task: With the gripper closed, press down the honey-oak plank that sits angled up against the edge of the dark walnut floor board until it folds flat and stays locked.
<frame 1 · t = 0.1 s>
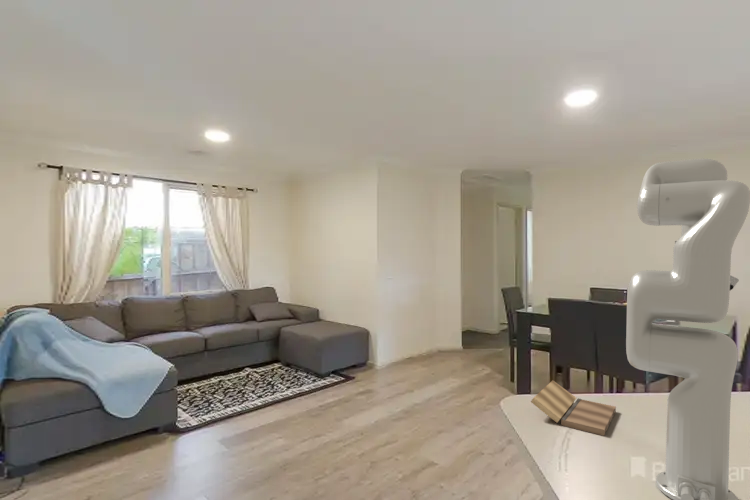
hand: (696, 307, 116), 31 cm above the counter, fingers open, 9 cm apart
oak plank: (554, 399, 121), point 3 cm above the counter, hinge at 30.0°
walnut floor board: (589, 418, 116), on the counter
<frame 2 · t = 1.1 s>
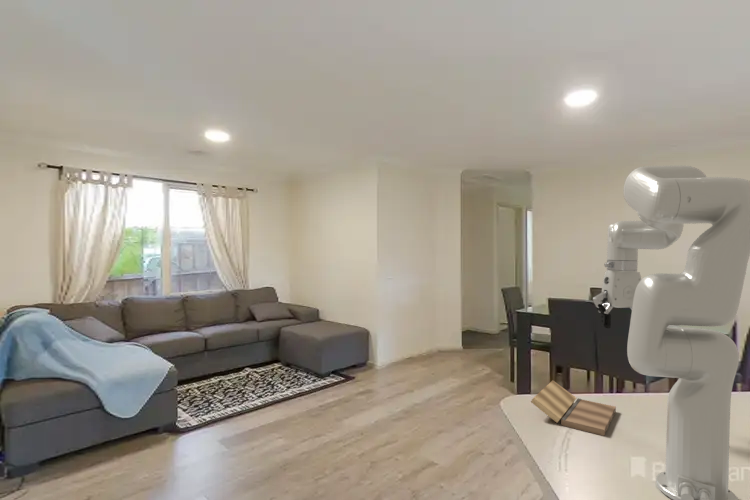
hand: (620, 327, 120), 25 cm above the counter, fingers open, 9 cm apart
nothing on the counter moved.
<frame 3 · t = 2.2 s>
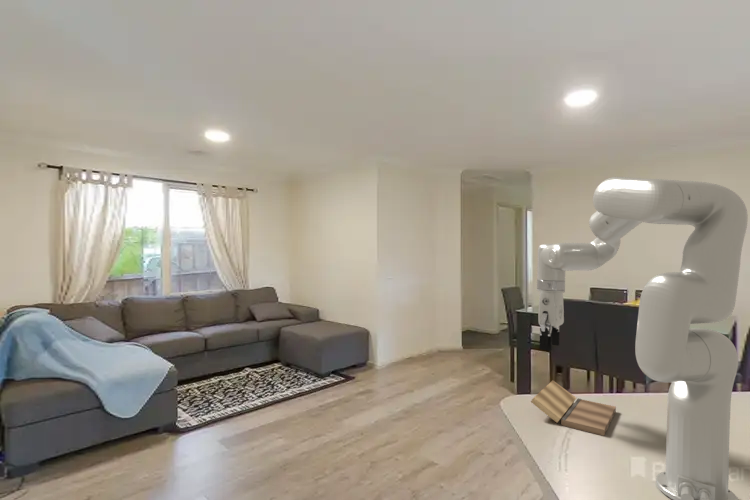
hand: (549, 346, 122), 18 cm above the counter, fingers open, 7 cm apart
nothing on the counter moved.
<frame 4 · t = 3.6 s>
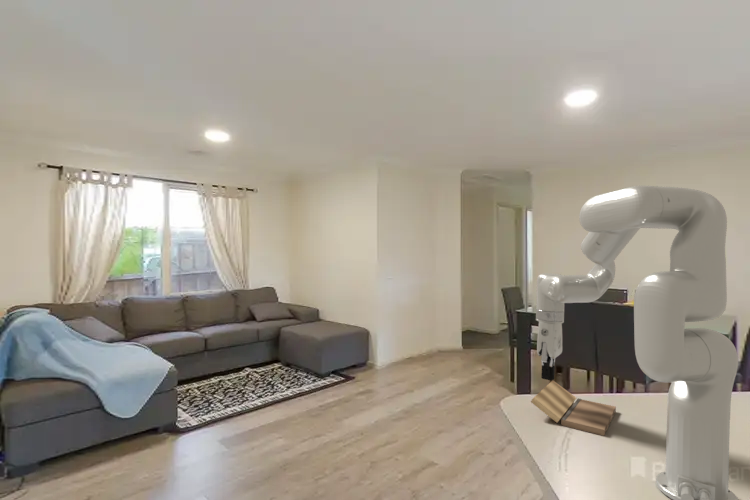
hand: (547, 378, 123), 8 cm above the counter, fingers closed
nothing on the counter moved.
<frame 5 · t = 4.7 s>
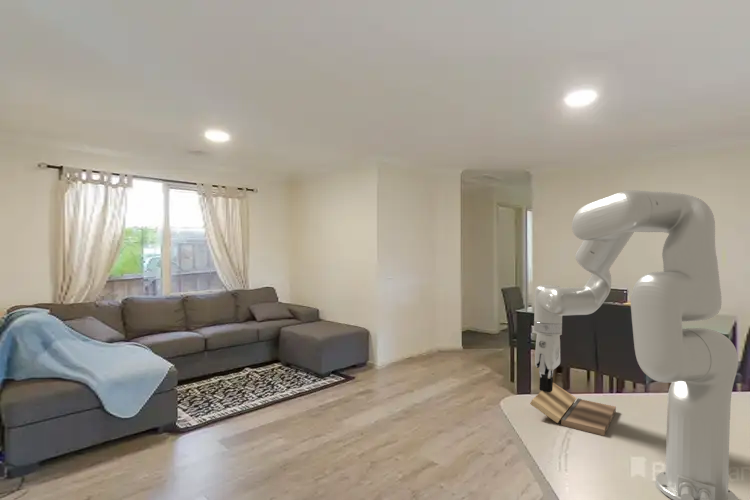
hand: (545, 390, 123), 5 cm above the counter, fingers closed
oak plank: (554, 400, 121), point 3 cm above the counter, hinge at 25.6°, touching gripper
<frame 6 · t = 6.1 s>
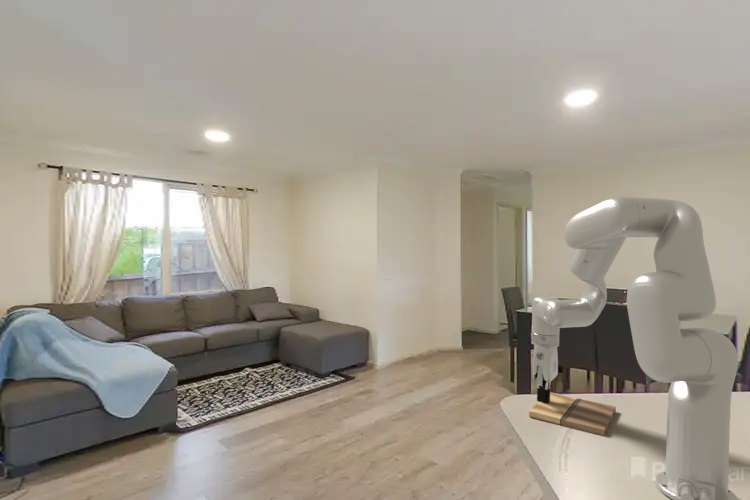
hand: (543, 401, 124), 2 cm above the counter, fingers closed
oak plank: (554, 406, 122), point 1 cm above the counter, hinge at 0.8°, touching gripper
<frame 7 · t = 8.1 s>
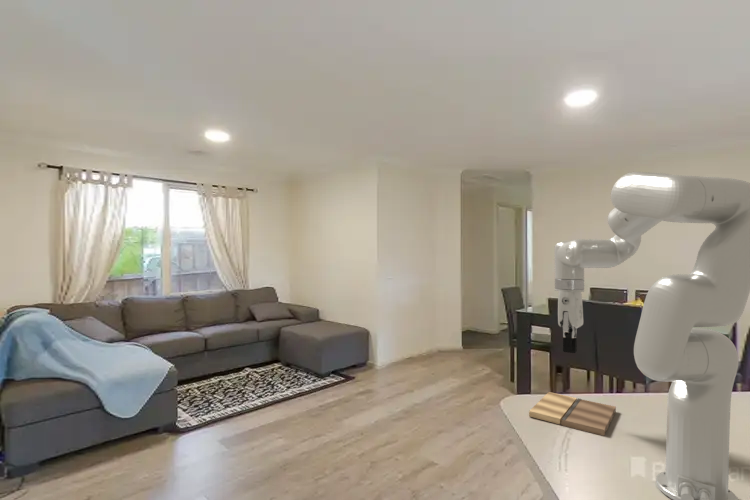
hand: (570, 351, 117), 18 cm above the counter, fingers closed
oak plank: (554, 406, 122), point 1 cm above the counter, hinge at 0.7°
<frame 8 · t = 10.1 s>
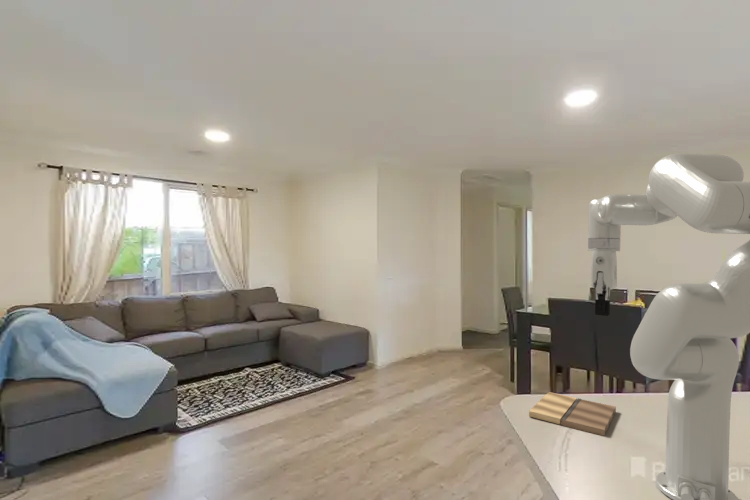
hand: (602, 314, 112), 29 cm above the counter, fingers closed
nothing on the counter moved.
at the end: oak plank at +1° (first picture: +30°); the gripper is holding nothing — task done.
